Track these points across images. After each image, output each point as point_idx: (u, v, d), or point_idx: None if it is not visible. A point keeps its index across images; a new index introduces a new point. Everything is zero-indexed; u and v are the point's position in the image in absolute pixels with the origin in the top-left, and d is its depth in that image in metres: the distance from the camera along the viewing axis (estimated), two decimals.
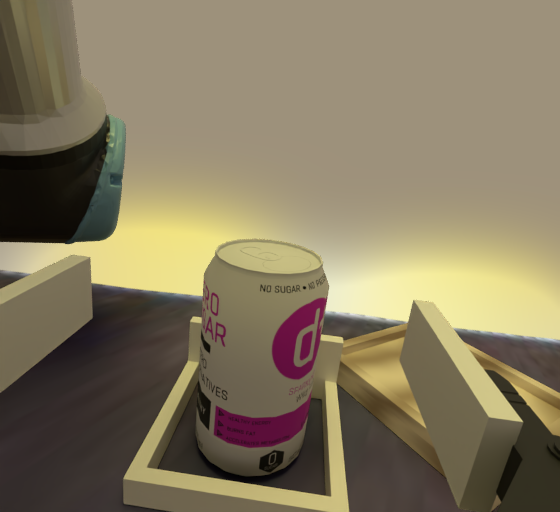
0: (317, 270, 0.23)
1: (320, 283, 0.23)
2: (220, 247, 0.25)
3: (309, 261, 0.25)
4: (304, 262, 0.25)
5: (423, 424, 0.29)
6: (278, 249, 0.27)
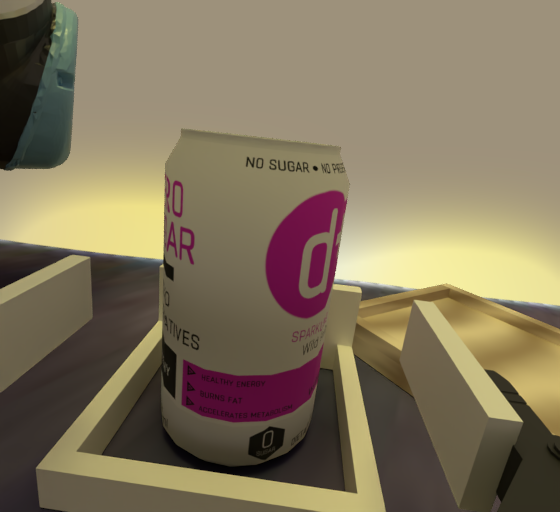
0: (334, 150, 0.15)
1: (338, 170, 0.15)
2: None
3: None
4: None
5: None
6: None
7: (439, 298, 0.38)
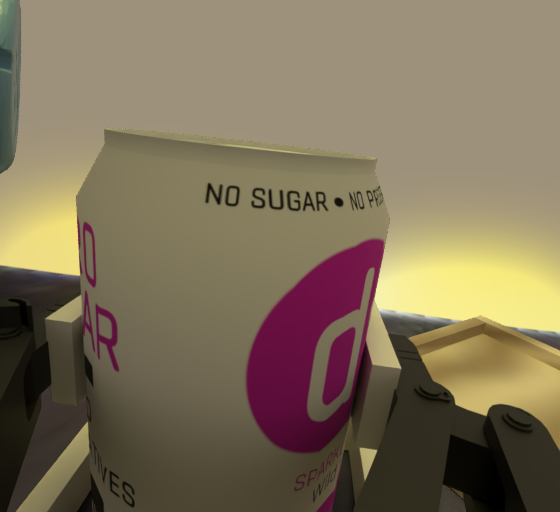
0: (369, 166, 0.09)
1: (376, 201, 0.09)
2: (131, 134, 0.11)
3: None
4: None
5: None
6: None
7: (473, 335, 0.31)
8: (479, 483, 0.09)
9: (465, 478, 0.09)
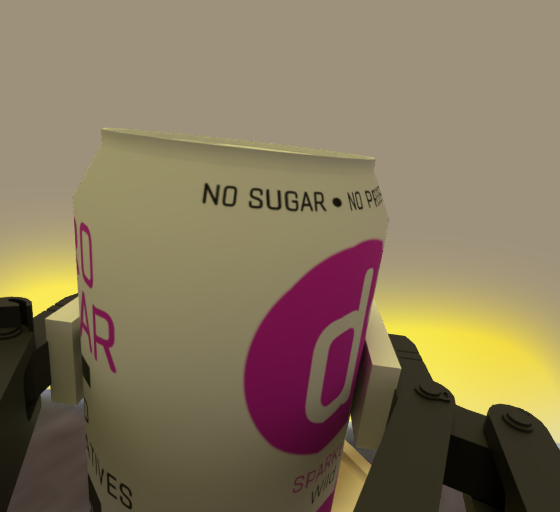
0: (367, 166, 0.09)
1: (375, 201, 0.09)
2: (129, 133, 0.11)
3: None
4: None
5: None
6: None
7: None
8: (479, 483, 0.09)
9: (465, 478, 0.09)
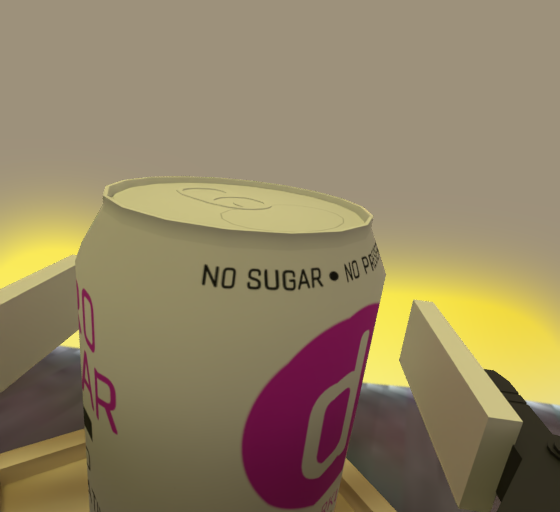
0: (365, 231, 0.09)
1: (372, 265, 0.09)
2: (130, 184, 0.11)
3: (338, 215, 0.10)
4: (326, 215, 0.10)
5: None
6: (266, 195, 0.12)
7: None
8: None
9: None
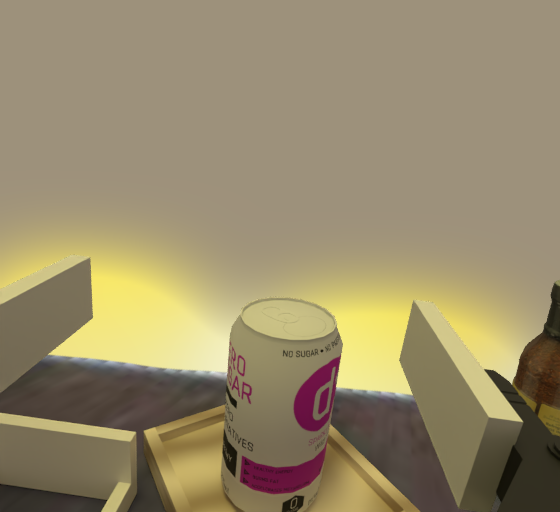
0: (332, 333, 0.26)
1: (335, 344, 0.26)
2: (243, 309, 0.28)
3: (324, 322, 0.27)
4: (320, 322, 0.27)
5: None
6: (295, 308, 0.29)
7: None
8: None
9: None
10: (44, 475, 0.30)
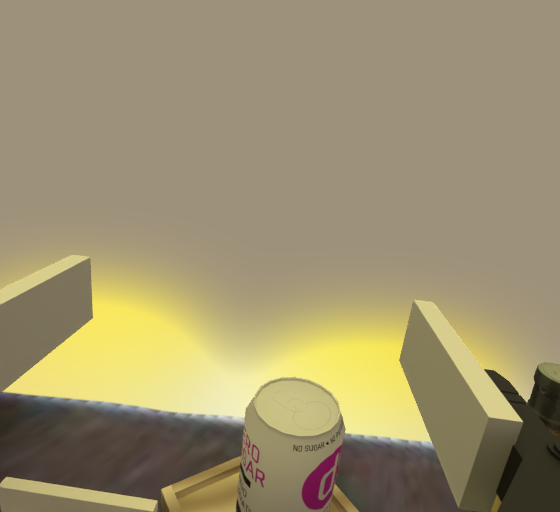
0: (336, 424, 0.29)
1: (339, 434, 0.29)
2: (256, 395, 0.31)
3: (329, 409, 0.31)
4: (325, 410, 0.30)
5: None
6: (302, 391, 0.32)
7: None
8: None
9: None
10: None
